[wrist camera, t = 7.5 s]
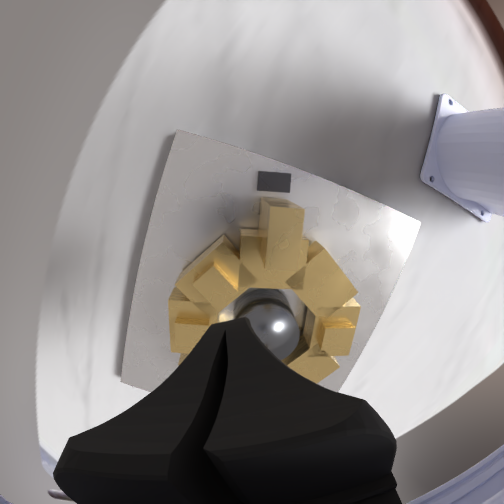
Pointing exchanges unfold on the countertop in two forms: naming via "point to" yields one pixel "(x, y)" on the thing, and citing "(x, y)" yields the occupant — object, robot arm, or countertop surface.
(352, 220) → the plate
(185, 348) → the gold blocky ring
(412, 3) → the countertop surface
